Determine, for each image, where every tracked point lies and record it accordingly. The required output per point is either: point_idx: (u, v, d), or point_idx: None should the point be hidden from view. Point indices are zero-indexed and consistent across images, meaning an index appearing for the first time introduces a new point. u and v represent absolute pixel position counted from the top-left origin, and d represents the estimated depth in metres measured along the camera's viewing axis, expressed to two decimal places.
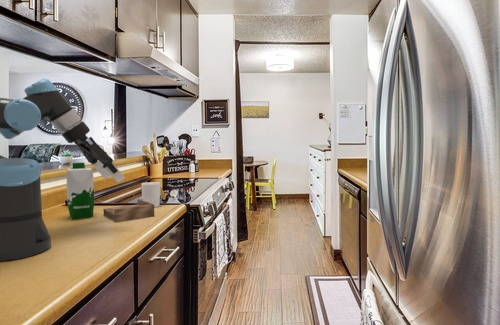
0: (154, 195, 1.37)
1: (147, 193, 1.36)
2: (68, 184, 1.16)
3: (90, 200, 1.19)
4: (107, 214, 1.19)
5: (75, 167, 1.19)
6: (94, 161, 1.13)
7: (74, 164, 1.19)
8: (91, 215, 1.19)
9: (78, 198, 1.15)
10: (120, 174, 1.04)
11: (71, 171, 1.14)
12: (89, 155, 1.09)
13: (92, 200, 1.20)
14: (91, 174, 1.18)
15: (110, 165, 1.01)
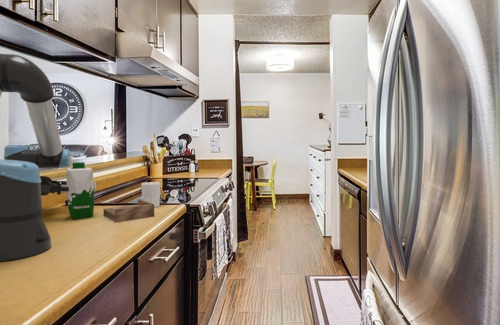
0: (154, 195, 1.37)
1: (147, 193, 1.36)
2: (68, 184, 1.15)
3: (90, 200, 1.18)
4: (107, 214, 1.19)
5: (75, 167, 1.19)
6: None
7: (74, 164, 1.19)
8: (91, 215, 1.19)
9: (78, 198, 1.15)
10: None
11: (71, 171, 1.14)
12: None
13: (92, 200, 1.20)
14: (91, 174, 1.18)
15: None
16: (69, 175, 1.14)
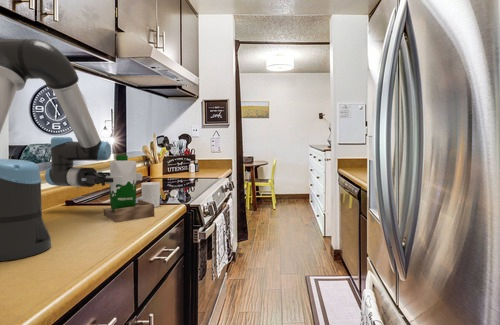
0: (154, 195, 1.37)
1: (147, 193, 1.36)
2: (113, 175, 1.15)
3: (133, 193, 1.18)
4: (107, 214, 1.19)
5: (119, 159, 1.19)
6: None
7: (118, 156, 1.19)
8: None
9: (122, 190, 1.15)
10: None
11: (117, 162, 1.14)
12: None
13: (135, 193, 1.19)
14: (135, 166, 1.19)
15: None
16: (115, 166, 1.15)
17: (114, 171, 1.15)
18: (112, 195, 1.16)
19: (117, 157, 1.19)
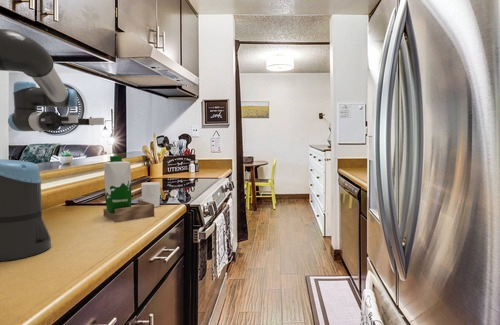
0: (154, 195, 1.37)
1: (147, 193, 1.36)
2: (107, 177, 1.14)
3: (128, 194, 1.17)
4: (107, 214, 1.19)
5: (113, 160, 1.17)
6: None
7: (112, 157, 1.17)
8: None
9: (116, 192, 1.14)
10: None
11: (110, 164, 1.13)
12: None
13: (130, 194, 1.18)
14: (129, 167, 1.17)
15: None
16: (108, 168, 1.13)
17: (108, 173, 1.14)
18: (107, 197, 1.15)
19: (111, 158, 1.18)
